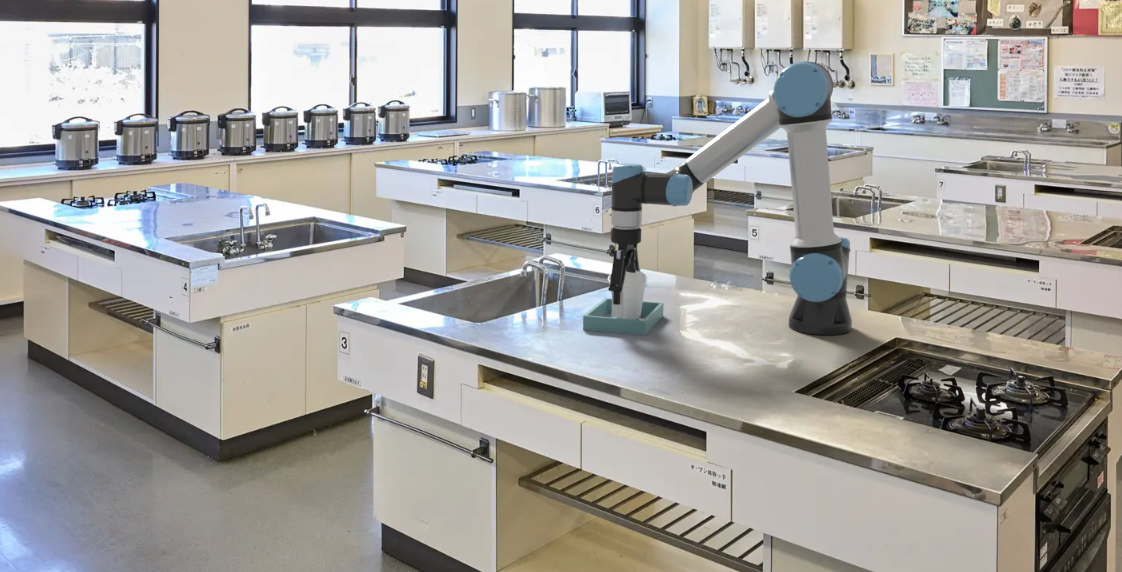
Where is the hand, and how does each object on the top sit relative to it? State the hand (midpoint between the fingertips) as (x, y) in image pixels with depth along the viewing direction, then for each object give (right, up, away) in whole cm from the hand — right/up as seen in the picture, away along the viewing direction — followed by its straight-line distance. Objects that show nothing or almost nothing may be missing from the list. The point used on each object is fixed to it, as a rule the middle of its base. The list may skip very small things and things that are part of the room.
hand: (624, 310), depth 249 cm
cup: (+1, -2, +4) cm, 5 cm away
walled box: (0, -3, +1) cm, 3 cm away
